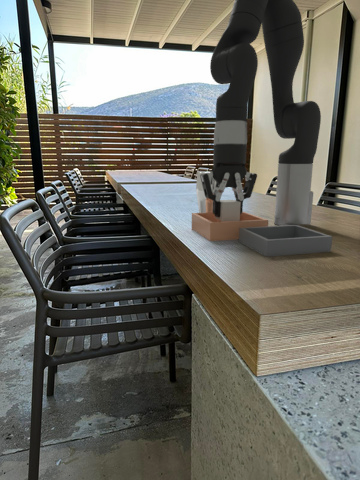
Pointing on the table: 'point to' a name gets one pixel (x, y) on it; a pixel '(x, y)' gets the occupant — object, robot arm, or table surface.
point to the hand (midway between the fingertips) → (227, 215)
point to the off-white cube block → (229, 210)
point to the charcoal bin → (284, 240)
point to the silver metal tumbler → (203, 202)
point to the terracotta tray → (224, 225)
